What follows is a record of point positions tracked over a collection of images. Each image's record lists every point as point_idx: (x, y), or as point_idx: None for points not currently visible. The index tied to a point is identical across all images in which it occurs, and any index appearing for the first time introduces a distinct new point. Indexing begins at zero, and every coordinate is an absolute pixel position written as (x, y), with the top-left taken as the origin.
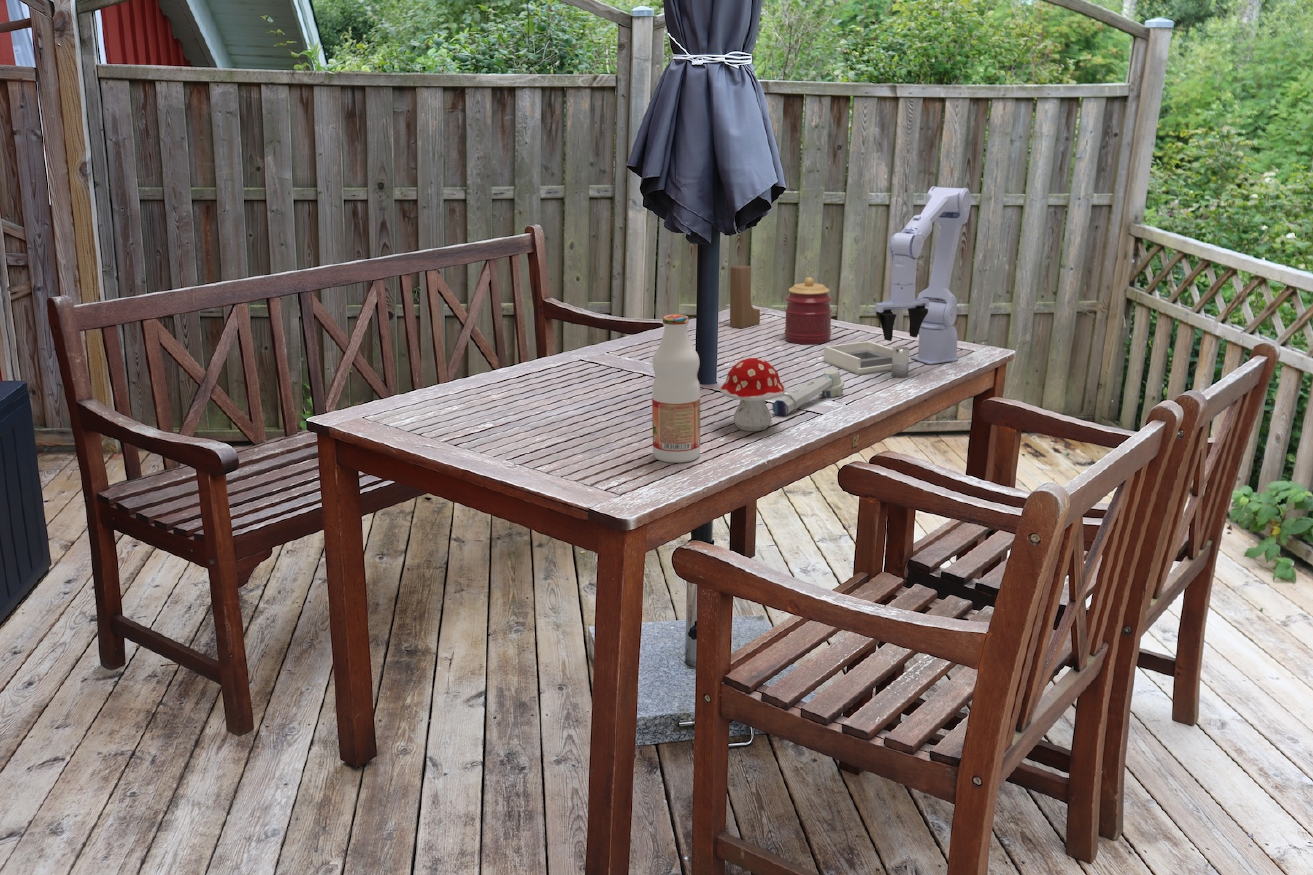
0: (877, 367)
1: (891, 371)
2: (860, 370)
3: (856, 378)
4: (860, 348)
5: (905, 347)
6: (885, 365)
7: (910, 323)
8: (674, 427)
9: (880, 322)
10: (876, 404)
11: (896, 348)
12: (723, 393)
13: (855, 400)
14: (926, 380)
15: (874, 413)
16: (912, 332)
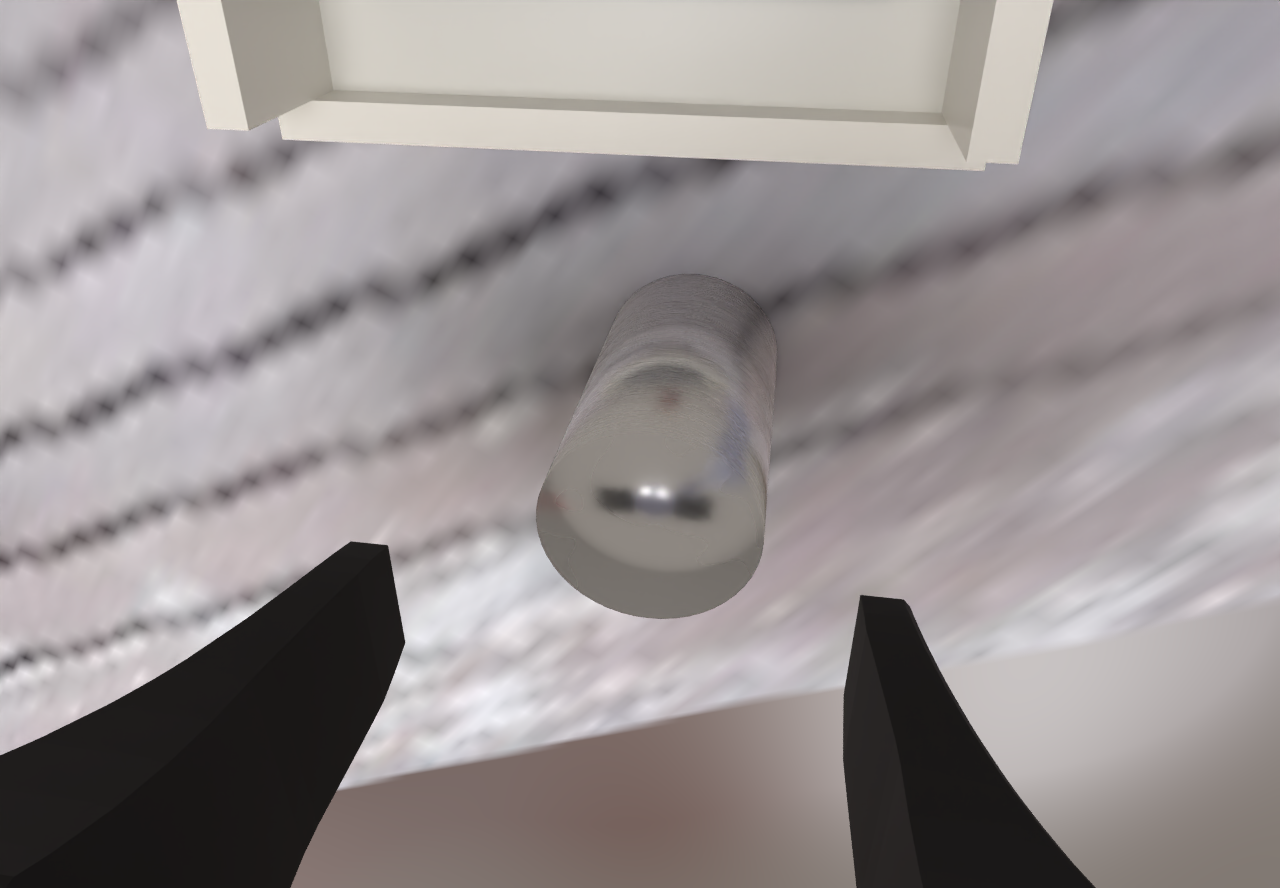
0: (538, 150)
1: (618, 319)
2: (304, 136)
3: (240, 212)
4: None
5: (728, 537)
6: (665, 146)
7: (891, 762)
8: None
9: (103, 717)
10: None
11: (581, 515)
12: None
13: (32, 660)
14: (793, 585)
15: None
16: (855, 699)
